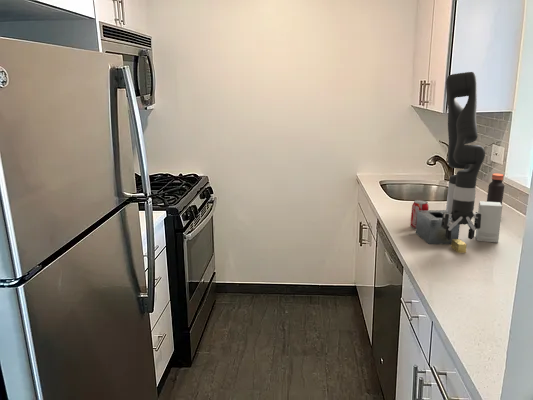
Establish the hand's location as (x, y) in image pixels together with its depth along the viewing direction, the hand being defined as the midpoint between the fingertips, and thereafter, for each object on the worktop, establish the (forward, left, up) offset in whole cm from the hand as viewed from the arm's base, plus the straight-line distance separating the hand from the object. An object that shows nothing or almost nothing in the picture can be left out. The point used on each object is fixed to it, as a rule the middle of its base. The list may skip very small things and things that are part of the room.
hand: (459, 239), depth 178 cm
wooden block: (0, 0, -5) cm, 5 cm away
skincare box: (-17, -11, -5) cm, 21 cm away
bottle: (-39, -46, -5) cm, 61 cm away
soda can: (+5, -28, -5) cm, 29 cm away
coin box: (+3, -14, -5) cm, 15 cm away
